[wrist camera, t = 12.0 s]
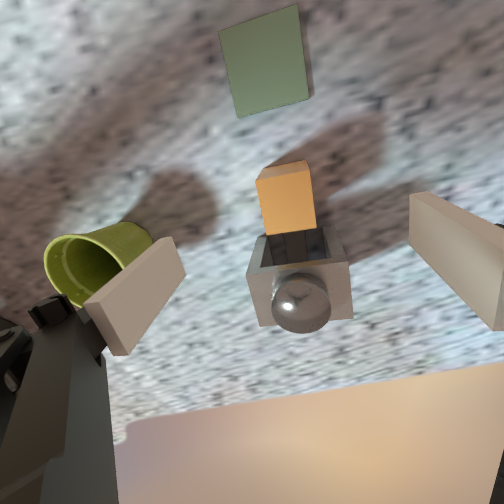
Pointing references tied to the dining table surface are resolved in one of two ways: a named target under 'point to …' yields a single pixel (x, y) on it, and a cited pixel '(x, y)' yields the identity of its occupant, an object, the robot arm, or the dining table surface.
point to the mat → (265, 62)
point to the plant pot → (92, 258)
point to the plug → (288, 205)
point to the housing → (301, 287)
